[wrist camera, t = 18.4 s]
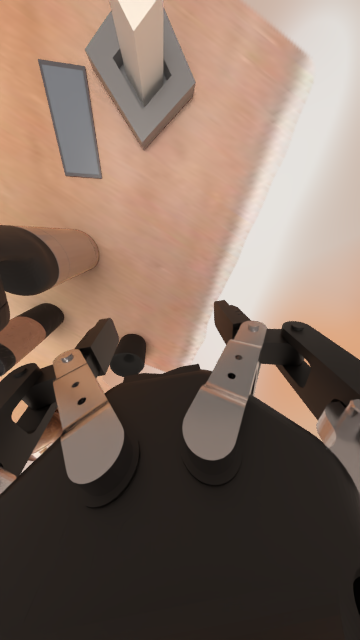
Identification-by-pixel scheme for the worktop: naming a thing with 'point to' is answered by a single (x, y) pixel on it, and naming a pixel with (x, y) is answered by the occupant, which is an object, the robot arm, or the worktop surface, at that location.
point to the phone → (72, 117)
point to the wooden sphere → (48, 436)
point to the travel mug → (27, 333)
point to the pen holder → (129, 356)
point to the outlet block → (123, 94)
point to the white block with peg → (141, 43)
